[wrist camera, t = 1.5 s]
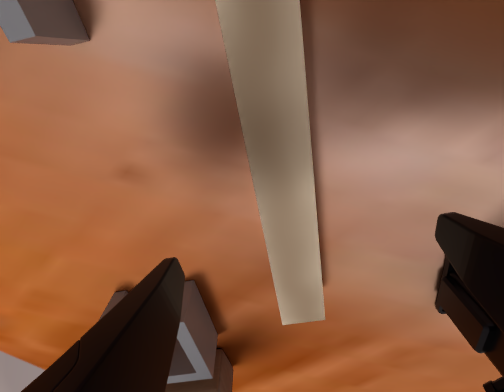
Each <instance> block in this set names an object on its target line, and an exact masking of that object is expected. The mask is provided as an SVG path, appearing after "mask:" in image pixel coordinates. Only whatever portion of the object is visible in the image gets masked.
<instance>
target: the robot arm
mask: <svg viewBox="0 0 504 392" xmlns="http://www.w3.org/2000/svg"><path fill="white" fill-rule="evenodd" d="M435 238H436V241H437V242H438V244H439V245H440V247H441V249H442V250H443V252H444V253H445V255H446V260H445V265H444V269H443V274H442V279H441V283H440V288H439V292H438V297H437V302H436V306H435V307H436V309H437V310H438V312H439V313H441V314H447V315H448V316H449V317H450V319H451V320H452V321H453V323H454V324H455V325H456V327H457V328H458V329H459V331H460V332H461V333H462V335H463V336H464V337H465V339H466V340H467V341H468V343H469V344H470V345H471V346H472V348H473V349H474V350H475V351H477V352H478V353H485V354H486V356H487V357H488V358H489V360H490V361H491V362H492V363H493V365H494V366H495V367H496V368H497V370H498V371H499V372H500V374H501V375H502V376H503V377H501V378H499V379H497V380H495V381H489V382H487V383H485V384H483V387H484V389H485V391H486V392H504V228H502V227H499V226H496V225H493V224H490V223H487V222H484V221H480V220H477V219H474V218H471V217H468V216H465V215H462V214H459V213H455V212H450V213H444V214H440V215H439V216H438V220H437V225H436V231H435ZM184 283H185V275H184V272H183V270H182V268H181V265H180V263H179V261H178V259H177V258H175V257H173V258H166V259H164V260H163V261H162V262H161V263H160V264H159V265H158V266H156V267H155V268H154V269H153V270H152V271H151V272H150V273H149V274H148V275H147V276H146V277H145V278H144V279H143V280H142V281H141V282H139V283H138V284H137V285H136V286H135V287H134V288H133V289H132V290H131V291H130V292H129V293H128V294H127V295H126V296H125V297H124V298H123V299H121V300H120V301H119V302H118V303H117V304H116V305H115V306H114V307H113V308H112V309H111V310H110V311H109V312H108V313H107V314H106V315H104V316H103V317H102V318H101V319H100V320H99V321H98V322H97V323H96V324H95V325H94V326H93V327H92V328H91V329H90V330H89V331H87V332H86V333H85V334H84V335H83V336H82V337H81V339H80V340H78V341H77V342H76V343H75V344H74V345H73V346H72V347H70V348H69V349H68V350H67V351H66V352H65V353H64V354H63V355H62V356H61V357H60V358H59V359H57V360H56V361H55V362H54V363H53V364H52V365H51V366H50V367H49V368H48V369H46V370H45V371H44V372H43V373H42V374H41V375H40V376H38V377H37V378H36V379H35V380H34V381H33V382H31V383H30V384H29V385H28V386H27V387H26V388H25V389H23V390H22V391H21V392H165V390H166V386H167V381H168V376H169V372H170V367H171V362H172V358H173V353H174V349H175V344H176V339H177V335H178V330H179V325H180V320H181V312H182V302H183V293H184Z"/></svg>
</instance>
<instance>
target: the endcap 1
mask: <svg viewBox="0 0 504 392" xmlns="http://www.w3.org/2000/svg"><path fill="white" fill-rule="evenodd" d="M0 26H1V28H2V29H3V31H4V33H5V35H6V36H7V38H8V40H9V42H10V43H29V44H50V45H74V44H78V43H82V42H86V41H90V39H89V37H88V35H87V33H86V30H85V28H84V26H83V23H82V21H81V19H80V16H79V14H78V12H77V10H76V7H75V5H74V3H73V0H0Z"/></svg>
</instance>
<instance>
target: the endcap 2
mask: <svg viewBox="0 0 504 392" xmlns="http://www.w3.org/2000/svg"><path fill="white" fill-rule="evenodd" d="M127 294H128V292H127V291H120V292H115V293H114V294H113V296H112V298H111V300H110V301H109V303H108V305H107V307H106V308H105V310H104V312H103V314H102V316H101V317H100V319H101V318H102V317H103V316H104V315H106V314H107V313H108V312H109V311H110V310H111V309H112V308H113V307H114V306H115V305H116V304H117V303H118V302H119V301H120V300H121V299H123V298H124V297H125V296H126V295H127ZM100 319H99V320H100ZM217 338H218V334H217V332H216V330H215V327H214V325H213V323H212V321H211V318H210V316H209V314H208V311H207V309H206V307H205V304H204V302H203V300H202V298H201V295H200V293H199V291H198V288H197V286H196V284H195V281H194V280H192V281H185V283H184V293H183V302H182V312H181V320H180V325H179V330H178V335H177V339H176V344H175V349H174V353H173V358H172V362H171V367H170V372H169V376H168V381H167V384H169V383H178V382H186V381H195V380H203V379H211V378H213V373H214V364H215V356H216V347H217Z"/></svg>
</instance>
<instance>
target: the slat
mask: <svg viewBox="0 0 504 392" xmlns="http://www.w3.org/2000/svg"><path fill="white" fill-rule="evenodd" d="M215 2H216V7H217V12H218V17H219V21H220V26H221V31H222V36H223V41H224V45H225V50H226V55H227V60H228V65H229V70H230V74H231V79H232V84H233V89H234V94H235V98H236V103H237V108H238V113H239V118H240V122H241V127H242V132H243V137H244V142H245V146H246V151H247V156H248V161H249V166H250V170H251V175H252V180H253V185H254V190H255V194H256V199H257V204H258V209H259V214H260V218H261V223H262V228H263V233H264V238H265V242H266V247H267V252H268V257H269V262H270V267H271V271H272V276H273V281H274V286H275V291H276V295H277V300H278V305H279V310H280V315H281V319H282V324H283V325H287V324H295V323H303V322H311V321H319V320H325V311H324V299H323V286H322V274H321V261H320V249H319V236H318V224H317V211H316V199H315V186H314V174H313V161H312V149H311V136H310V124H309V111H308V99H307V86H306V73H305V61H304V48H303V36H302V23H301V11H300V0H215Z"/></svg>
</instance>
